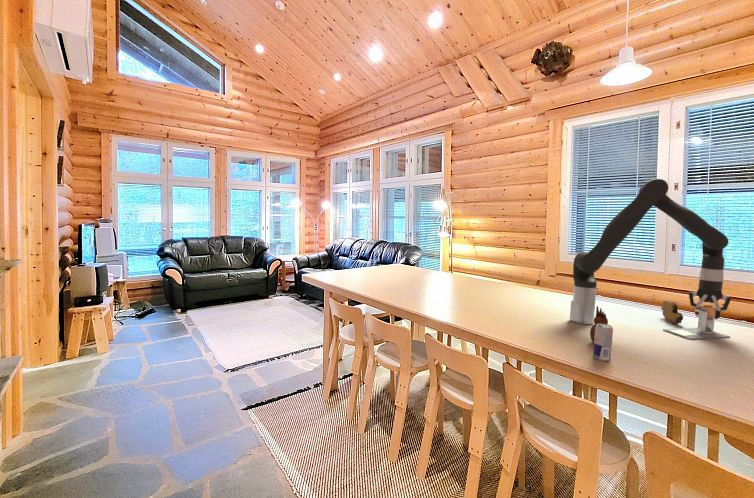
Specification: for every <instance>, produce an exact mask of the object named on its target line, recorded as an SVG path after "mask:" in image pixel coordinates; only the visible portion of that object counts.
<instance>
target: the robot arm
mask: <svg viewBox="0 0 754 498" xmlns="http://www.w3.org/2000/svg"><path fill="white" fill-rule="evenodd" d="M668 192H669V184H668V182H667V181H666V180H664V179H662V178H653V179H650V180H648V181H647V182H645V183H643V185H642V186H641V187H640V188H639V191H638V194H637V195H636V196H635V198H634V199H633V200H632V201H631V202H630V203H628V205H627V206H625V207H624V208H623V209H622V210H621V211H620V212H618V213H617V214H616V215H615V216H614V217H613V218H612V219H611V221H610V222H609V223H607V225H606V226H605V228H604V230H603V231H602V234H601V236H600V239H599V240H598V242H597V243H596V244H595V246H593V247H592V248H591V250H590V251H588V252H587V251H582V252H579V253H577V254H576V255H575V257H574V258H573V265H572V267H573V272H572V278H573V282H574V283H573V297H572V300H571V301H570V310H569V320H570V321H571V322H574V323H577V324H582V325H594V318H595V313H596V311H595V310H596V296H597V284H598V283H597V280H596V278H595V273H596V272H597V271H599V270H600V268H601V267H602V266H603V265H604V264H605V262H606V261H607V259H608V258H609V257H610V255H611V254H612V252H613V251H615V249H616V248H617V247H619V246H620V244H621V243H622V242H623V241H624V240H625V239H626V238H627V237H628V235H630V233H632V231H634V229H635V228H636V227H637V226H638V225H639V223H640V222H641V221H642V220H643V218H644V217H645V215H646V214H647V212H648V211H650V210H651V208H652V207H654V208H656V209H658V210H659V211H661V212H662V213H664V214H666V215H667V216H668V217H670V218H671V219H673V220H674V221H675V222H677V224H679V225H680V226H681V227H683V228H684V229H685V230H686V231H688V233H690V234H692V235H693V236H694V237H697V238H698V239H699V240H700V241H702V247H701V249H702V259H701V260H702V261H701V267H700V268H701V269H700V273H699V280H698V289H697V291H688V298H689V304H690V305H689V306H691V307H694V308H695V309H700V305H703V303H710V304H714V307H716V309H717V310H716V316H715V320H718V319H720V318H721V311H727V310H728V308H729V305H730V302H731V300H732V297H731V296H729V295H724V294H723V283H724V279H725V278H724V276H725V275H724V268H725V257H724V256H723V255H724V254H723V253H724V249H725V248H726V247H727V246H728V245H729V238H728V237H727V235H725V234H724V233H722V232H721V231H720V230H718V229H717V228H715V227H714V226H712V225H711V224H709V223H708V222H707V221H706V220H705V219H704V218H702V217H701V216H700V215H698V214H697V213H696V212H695V211H693V210H691V209H689V208H687V207H685V206H683V205H682V204H679V203H678V202H676V201H674V199H672V198H670V197H669V195H667V194H668ZM696 295H697V296H698V298H699V299H698V301H697V303H695V301H694V298H695V297H696ZM721 299H723V301H724V303H723V305H722V306H720V303H719V302H718V301H720V300H721ZM696 314H699V312H696V311H695V310H694V315H695V316H696Z"/></svg>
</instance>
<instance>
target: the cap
mask: <svg viewBox="0 0 754 498" xmlns="http://www.w3.org/2000/svg"><path fill="white" fill-rule="evenodd" d="M699 308H700V309H703V310H707V318H715V316H716V306H714V305H713V304H701V305H700V307H699ZM695 316H696V317H697V318H699V314H696V315H695Z"/></svg>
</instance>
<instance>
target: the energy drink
mask: <svg viewBox="0 0 754 498" xmlns="http://www.w3.org/2000/svg"><path fill="white" fill-rule="evenodd" d="M613 333H614V328H613V326H612V325H610V324H596V326H595V338H594V343H593V350H592V351H593V353H592V356H593V358H594V359H596V360H598V361H602V362H610V361H611V359H612V344H613V335H614V334H613Z"/></svg>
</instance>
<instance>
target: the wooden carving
mask: <svg viewBox="0 0 754 498" xmlns="http://www.w3.org/2000/svg"><path fill="white" fill-rule="evenodd" d="M678 308H679V307H678V305H677V304H676V302H674V301H673V300H662V306H661V307H660V309H661V310H662V316H663V317H664V319H665V320H666V321H668V322H669V323H670V322H671V323H672V322H673V324H682V321H683V320H684V316H683V313H681V312H678Z"/></svg>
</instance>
